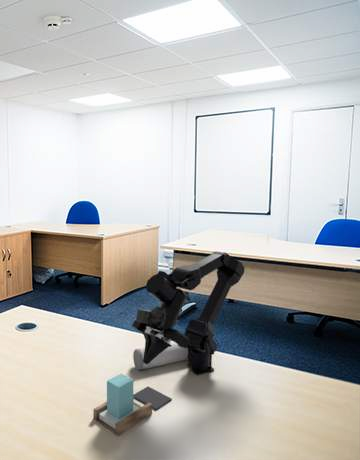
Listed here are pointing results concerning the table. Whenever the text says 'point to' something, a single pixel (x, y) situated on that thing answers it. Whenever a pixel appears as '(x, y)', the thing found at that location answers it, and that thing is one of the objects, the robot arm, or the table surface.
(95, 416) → the track
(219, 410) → the table surface
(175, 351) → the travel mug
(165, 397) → the dark gray rectangular plate
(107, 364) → the table surface
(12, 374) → the table surface
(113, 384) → the blue pillar on plinth
